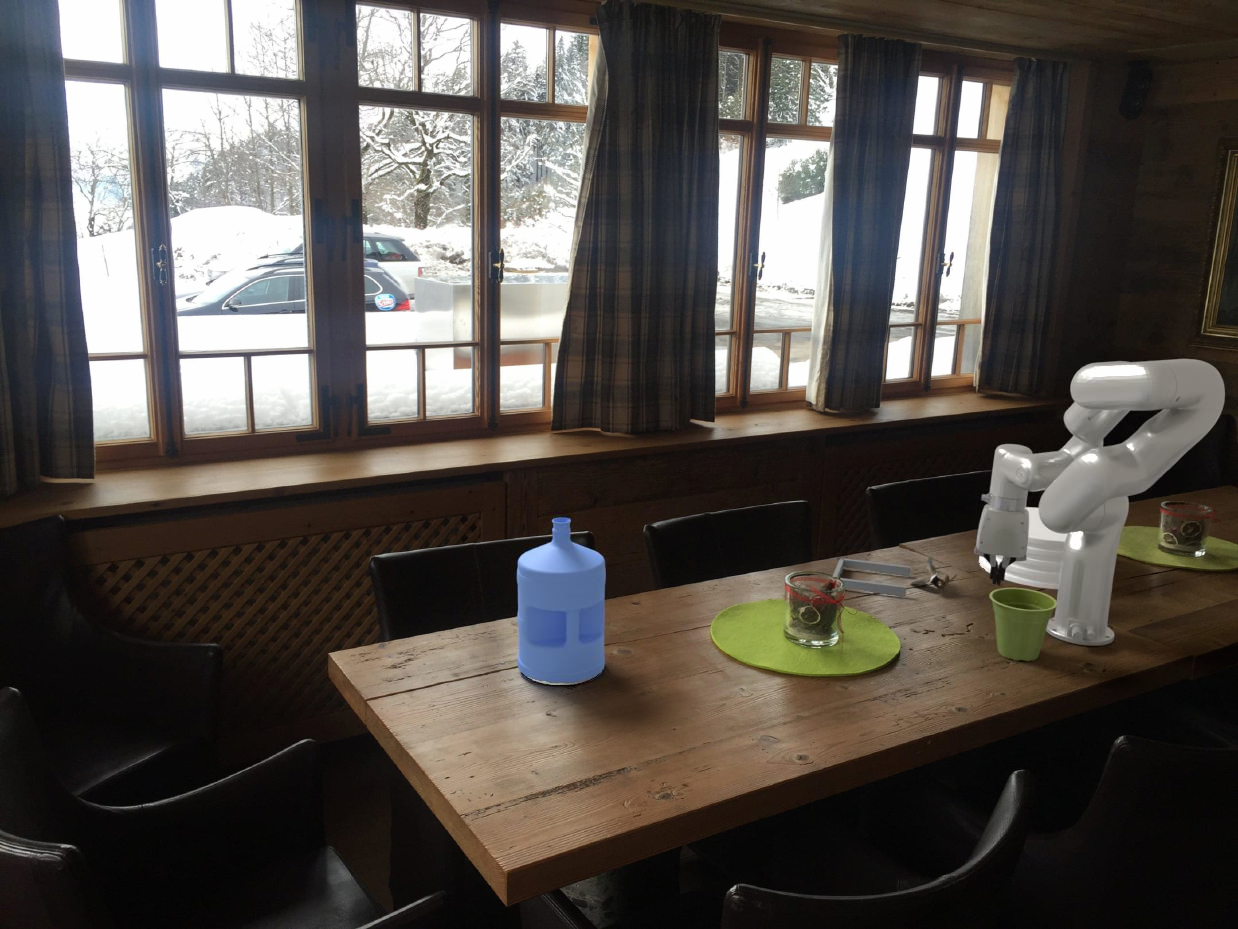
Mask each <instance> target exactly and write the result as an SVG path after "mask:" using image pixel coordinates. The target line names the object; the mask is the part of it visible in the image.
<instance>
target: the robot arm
mask: <svg viewBox="0 0 1238 929" xmlns="http://www.w3.org/2000/svg"><path fill="white" fill-rule="evenodd" d="M1225 391H1226V390H1225V383H1224V379H1223V378H1222V375H1221V374H1220V372H1219V371H1218V369H1217V368H1216V367H1215V366H1213V365H1212V364H1211V363H1208V362H1206V361H1203V360H1199V359H1194V358H1193V359H1190V358H1177V359H1163V360H1162V359H1161V360H1147V361H1132V362H1130V361H1124V360H1123V361H1122V360H1117V361H1103V362H1092V363H1089V364H1085V366H1082V367H1081V368H1080V369H1079V370H1077V371H1076V373H1075V374H1074V376H1073V378H1072V380H1071V382H1070V395H1071V398H1072V400H1073V403H1072V404H1071V406H1070V407H1068V409H1066V411H1065V412H1064V414H1063V422H1064V425H1065V427H1066V429H1067V430H1068V431H1069V432H1070V434H1072V437H1070V439H1069V440H1068V441H1067V442H1066V443H1065V445H1064V446H1062V448H1060V449H1059V450H1057V451H1049V452H1048V451H1047V452H1041V453H1040V452H1038V453H1033V451H1032V450H1031V449H1030V448H1029V447H1028V446H1024V445H1022V444H1014V443H1005V444H1001V445H998V446H997V447H996V449H995V450H994V456H993V457H994V458H993V463H992V465H993V466H992V470H991V471H992V472H991V479H990V486H989V492H987V494H984V493H983V494H981V501H984V502H986V504H985V505H984V506H983V509H982V512H981V516H980V519H979V523H978V529H977V534H976V545H975V547H974V549H973V554H974V555H975V556H978V557H980V556H981V557H984V558H985V559H986V560H987V561H988V562H989V563H990V565H991V570H990V573H989V580H991V581H992V582H991V583H992V585H997V586H1001V583H1002V582H1005V579H1004V578H1005V571H1006V568H1007V567H1008V566H1009V565H1011V564H1012V563H1014V562H1015V561H1026V559H1027V557H1026V552H1027V546H1028V536H1029V512H1028V510H1027V509H1025V508H1026V507H1027V500H1028V494H1029V492H1039V491H1044V492H1043V493H1042V495H1041V497H1040V500H1039V503H1038V508H1039V516H1040V519H1041V521H1042V523H1043V524H1044V525H1045V526H1046V527H1047V528H1048V529H1050V530H1051V531H1053V532H1056V533H1061V534H1067V537H1066V540H1065V543H1064V547H1063V554H1062V562H1061V570H1060V579H1059V587H1058V589H1057V596H1056V601H1057V603H1058V605H1057V607H1056V608H1055V611H1054V612H1055V614H1054V617H1051V618H1050V619H1049V622H1048V625H1047V628H1046V632H1047V633H1048V634H1049V635H1050V636H1052V637H1053V638H1055V639H1058V640H1061V641H1063V642H1066V643H1071V644H1075V645H1079V646H1089V647H1092V646H1094V647H1098V646H1100V647H1101V646H1106V645H1109V644H1111V643H1113V641H1114V639H1115V632H1114V630H1112V629H1111V627H1109V626H1108V620H1109V613H1110V605H1111V598H1112V592H1113V591H1112V590H1113V583H1114V577H1115V576H1114V575H1115V568H1116V563H1117V562H1116V561H1117V555H1118V549H1119V544H1120V539H1121V535H1122V533H1123V529H1124V527H1125V524H1126V522H1127V519H1128V514H1129V506H1130V505H1129V504H1130V502H1129V496H1134V495H1138V494H1142V493H1143V492H1146V491H1147V490H1148V489H1150V488H1151V487H1152V486H1153V485H1155V483H1156V482H1157V481H1158V480H1159V479H1160V478H1162V477H1163V475H1164V474H1165V473H1166V472H1167V471H1169V470H1170V469H1171V468H1172V467H1173V466H1174V465H1175V464H1176V463H1177V462H1178V461H1179V460H1180V459H1181V458H1182V457H1183V456H1184V455H1185V454H1187V452H1188V451H1189V450H1191V449H1192V448H1193V447H1194V446H1195V445H1196V444H1198V443H1199V442H1200V441H1201V440H1202V439H1203V438H1204V437H1205V436H1206V435H1207V434H1208V433H1209V432H1210V430H1212V428H1213V427H1214V426H1215V425H1216V423H1217V421H1218V419H1219V418H1220V417H1221V414H1222V411H1223V408H1224V405H1225V396H1226V392H1225ZM1157 410H1161V411H1160V412H1157V414H1155V415H1154V416H1152V417H1151V418H1149V419H1148V420H1146V421H1145V422H1144V423H1143V424H1142V425H1141V426H1140V427H1139V428H1138V430H1136V431H1135V432H1134V433H1132V435H1131V436H1129V438H1127V439H1126V440H1124V441H1123V442H1122V443H1118V444H1114V445H1107V446H1104V438H1106V436H1108V434H1109V433H1111V431H1112V430H1113V429H1114V428H1115V427H1116V426H1117V425H1118V424H1119V422H1121V421H1122V420H1123V419H1124V417H1126V415H1127V414H1128V413H1129V412H1130V411H1157ZM996 555H1000V556H1003V559H1002V561H1001V562H1000V564H999V566H998V562H997V561H996Z"/></svg>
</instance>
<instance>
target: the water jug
mask: <svg viewBox="0 0 1238 929" xmlns="http://www.w3.org/2000/svg"><path fill="white" fill-rule="evenodd" d="M551 522H552V524H553V527H552V540H551V542H547V543H546V544H543V545H540V546H538V547H535V548H532V549H530V550H528V551H525V552H524V553H523V554H521V555H520V557H519V558H518V560H517V570H516V582H517V604H518V605H517V606H518V607H517V608H518V609H517V610H518V611H517V628H518V629H517V630H518V655H517V667H518V671H519V670H520V671H521V672H522V673H523V674H524V675H526V676H527V677H530V678H532V679H535V680H539V681H546V682H549V683H575V682H580V681H584V680H588V679H591V678H593V677H595V676H597V675H598V674H599V673H600V674H602V672H603V671H602V670H604V668H605V665H606V662H605V661H606V656H605V624H606V622H605V620H606V612H605V595H606V594H605V593H606V592H605V590H606V586H605V585H606V578H607V577H606V576H607V575H606V572H607V571H606V560H605V558H604V556H603V555H602V554H600V553H599V552H598V551H596V550H593V549H590V548H588V547H585V546H583V545H580V544H578V543H576V542H573V541H572V540H571V526H570V524H571V522H572V521H571V518H568V517H556V518H553V519H552V520H551ZM520 671H519V672H520ZM521 672H520V673H521ZM600 674H599V675H600ZM599 675H598V676H599ZM598 676H597V677H598Z"/></svg>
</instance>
